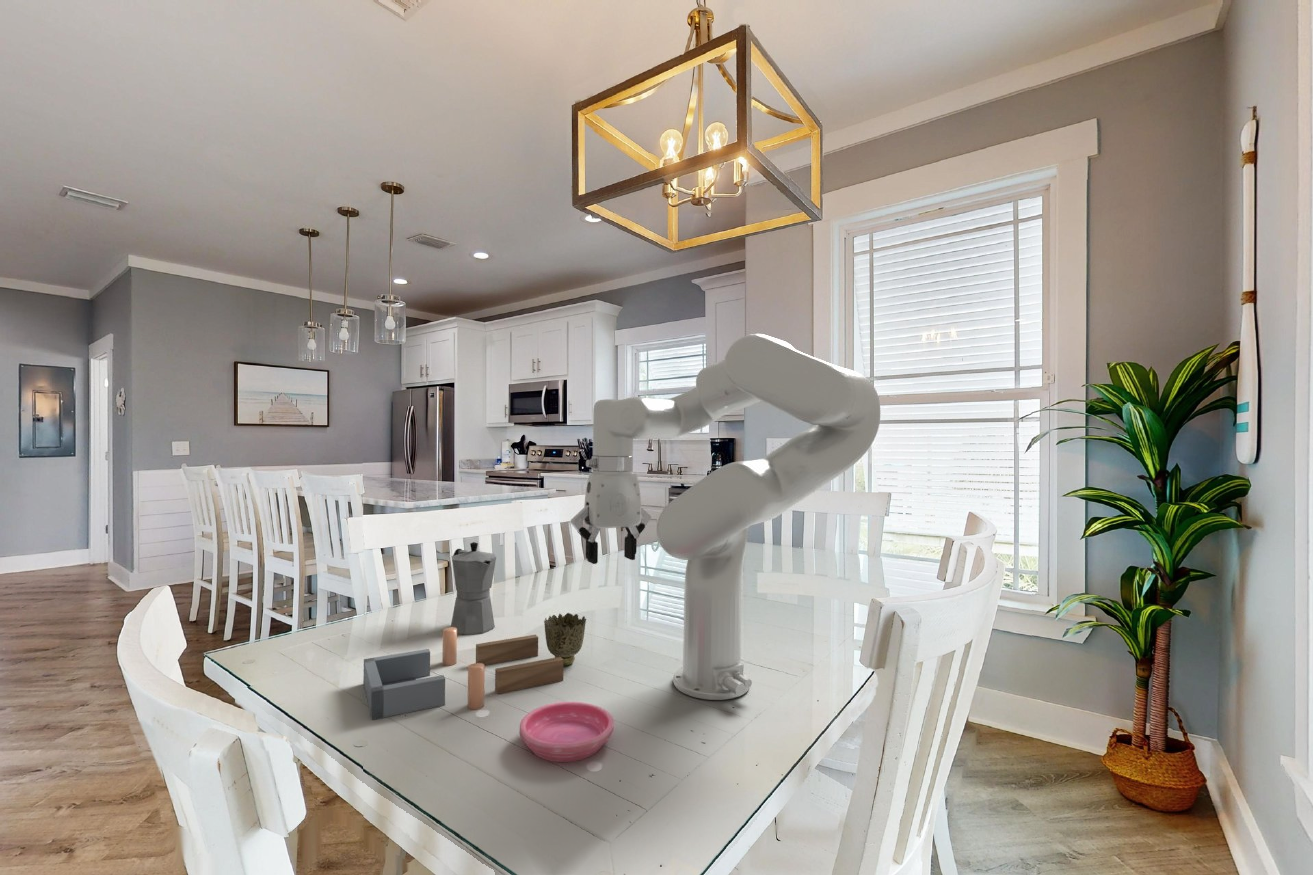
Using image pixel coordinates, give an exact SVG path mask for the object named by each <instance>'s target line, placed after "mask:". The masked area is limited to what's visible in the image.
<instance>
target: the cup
mask: <svg viewBox="0 0 1313 875" xmlns="http://www.w3.org/2000/svg"><path fill="white" fill-rule="evenodd" d="M543 623H544V634H545V635H544V636H545V641H546V642H545V644H546V646H547V649H548V651H549V653H550V654H551V655H552V656H554V657H553V658H556V657H561V658H562V659H563V660H564V663H563V667H566V666H570V665H572V664H574V662H575V659H576V656H575V655H577V654H578V653H579V652H580V651H581V649H582V646H583V644H584V637H585V629H586V623H587V618H586V617H585V615H583V616H582V618H579V614H577V613H575V614H572V613H570V612H567V613H566V614H565V615H563V614H561V613H559V614H558V617H557V615H555V614H553V615H552V616H551V615H549V616H548V619H547V617H545V619H544V620H543Z"/></svg>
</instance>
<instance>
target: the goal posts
mask: <svg viewBox="0 0 1313 875" xmlns="http://www.w3.org/2000/svg"><path fill="white" fill-rule="evenodd" d="M457 645H458V634H457V628H455V627H451V626H449V627H444V628H443V629H442V655H441V656H442V657H441V658H442V660H441V664H442V666H448V667H449V666H454V665H455V664H457V657H458V656H457V655H458V654H457V651H458V649H457V648H458V647H457ZM485 666H486V665H484V664H482V663H476V662H475V663H471V664H469V665H468V666H467V709H468V710H480V709H482V708H484V706H485V682H486V681H485V677H486V676H485V675H486V674H485V672H486V670H485V669H486V667H485Z"/></svg>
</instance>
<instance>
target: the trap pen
mask: <svg viewBox="0 0 1313 875" xmlns="http://www.w3.org/2000/svg"><path fill="white" fill-rule="evenodd" d="M427 676H430V677H427ZM422 677H423V678H422ZM424 677H425V678H424ZM417 678H420V679H417ZM362 681H363V682H362V683H363V687H364V691H365V697H366V700H367V704H368V710H369V713H370V718H371V720H372V721H373V720H378V719H383V718H384V719H385V718H388V717H394V716H398V715H403V714H407V713H412V712H417V711H422V710H426V709H432V708H435V707H436V708H437V707H441V706H445V705H446V677H445V676H444V674H441V675H440V674H439V675H436V676H431V651H430V649H429V648H425V649H420V650H419V649H418V650H413V651H407V652H406V651H405V652H401V653H395V654H394V653H393V654H387V655H382V656H376V657H369V658H364V659H363V680H362Z"/></svg>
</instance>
